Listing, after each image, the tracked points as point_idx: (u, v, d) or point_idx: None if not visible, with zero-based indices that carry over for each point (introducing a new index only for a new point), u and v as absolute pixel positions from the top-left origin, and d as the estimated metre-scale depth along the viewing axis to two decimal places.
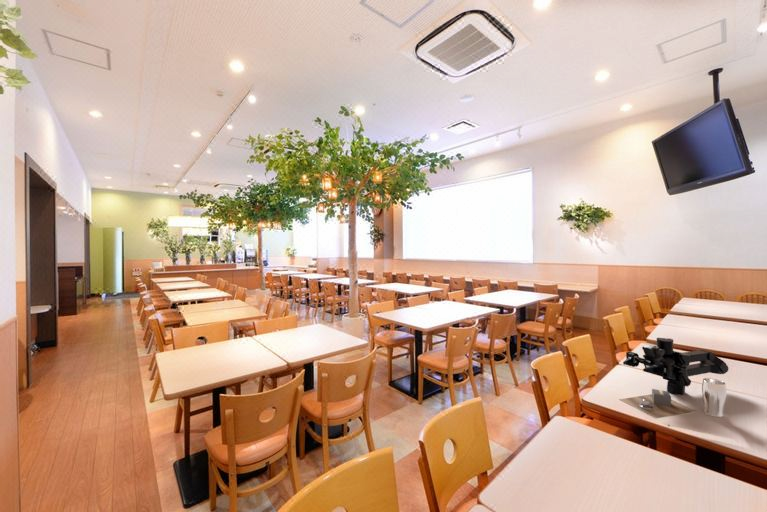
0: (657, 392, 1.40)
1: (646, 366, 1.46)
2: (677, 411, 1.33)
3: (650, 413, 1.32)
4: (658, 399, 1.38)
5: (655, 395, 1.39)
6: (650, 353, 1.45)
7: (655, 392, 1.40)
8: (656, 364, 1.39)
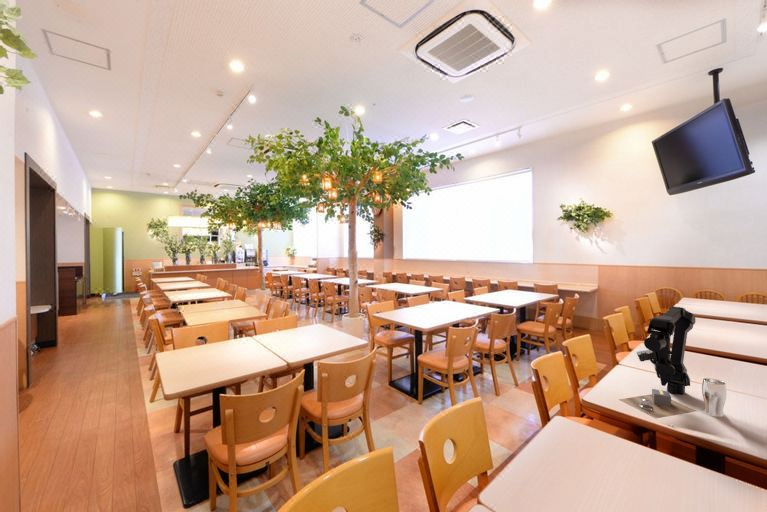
0: (657, 392, 1.40)
1: None
2: (677, 411, 1.33)
3: (650, 413, 1.32)
4: (658, 399, 1.38)
5: (655, 395, 1.39)
6: None
7: (655, 392, 1.40)
8: (657, 372, 1.36)
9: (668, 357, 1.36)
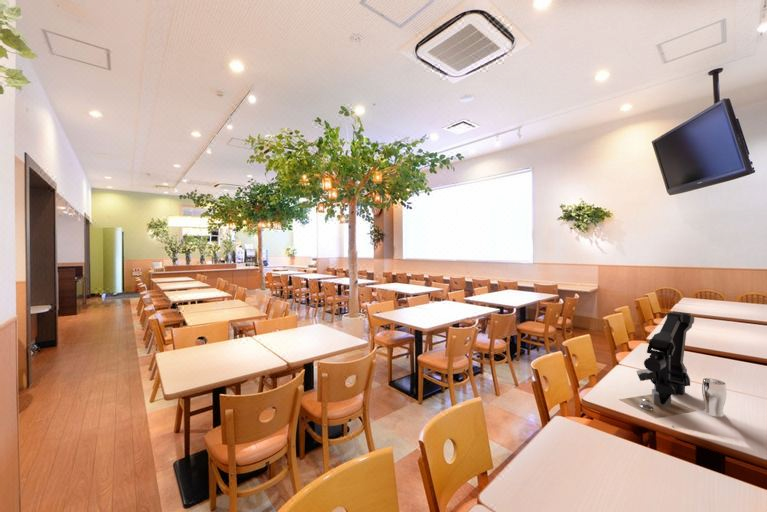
0: (657, 392, 1.40)
1: None
2: (677, 411, 1.33)
3: (650, 413, 1.32)
4: (658, 399, 1.38)
5: (655, 395, 1.39)
6: None
7: (655, 392, 1.40)
8: None
9: (668, 377, 1.37)
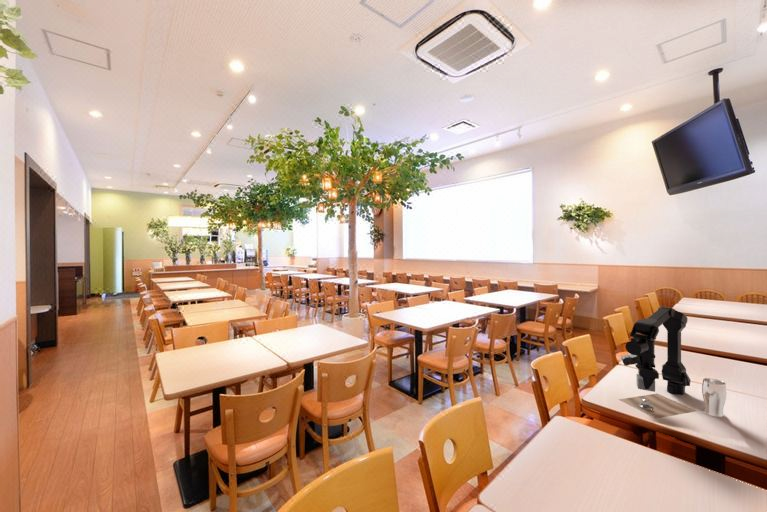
0: (641, 377, 1.37)
1: None
2: (677, 411, 1.33)
3: (650, 413, 1.32)
4: (642, 384, 1.35)
5: (639, 380, 1.35)
6: None
7: (639, 377, 1.37)
8: None
9: (652, 361, 1.33)
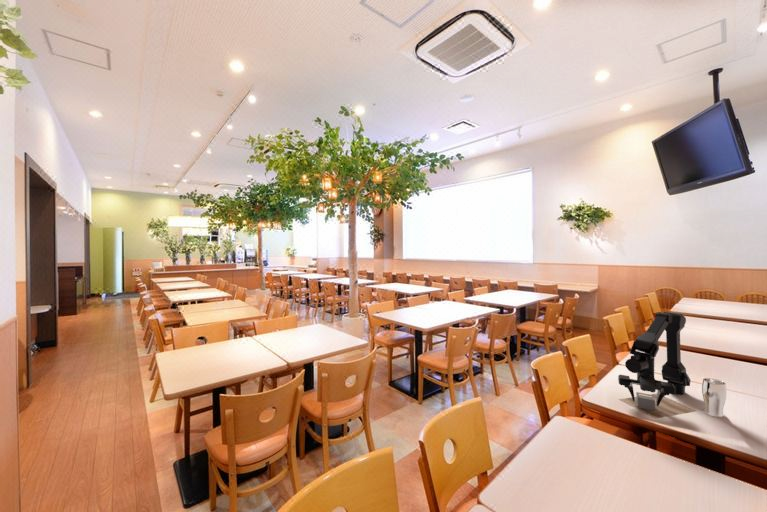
0: (647, 397, 1.35)
1: None
2: (677, 411, 1.33)
3: (650, 413, 1.32)
4: None
5: (654, 401, 1.33)
6: None
7: (649, 398, 1.34)
8: (661, 394, 1.32)
9: None
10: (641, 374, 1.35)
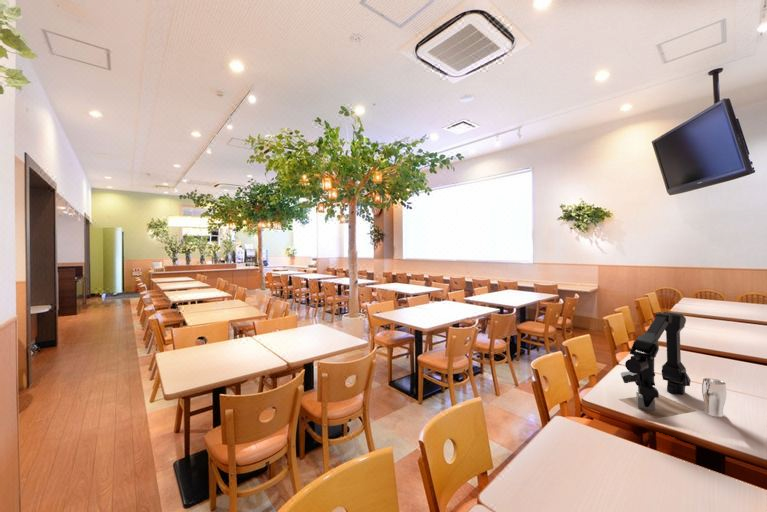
0: None
1: None
2: (677, 411, 1.33)
3: (650, 413, 1.32)
4: None
5: (654, 401, 1.33)
6: None
7: None
8: None
9: (652, 379, 1.34)
10: None
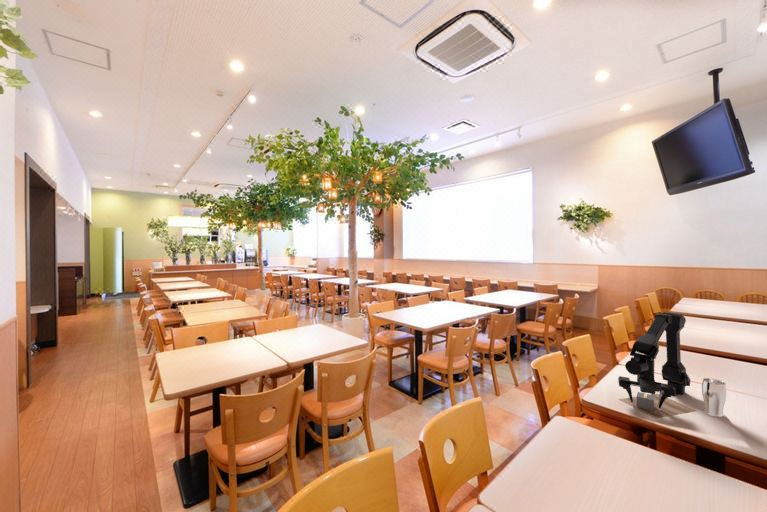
0: (649, 396, 1.36)
1: None
2: (677, 411, 1.33)
3: (650, 413, 1.32)
4: None
5: None
6: None
7: (651, 396, 1.36)
8: (663, 397, 1.32)
9: None
10: (641, 376, 1.35)
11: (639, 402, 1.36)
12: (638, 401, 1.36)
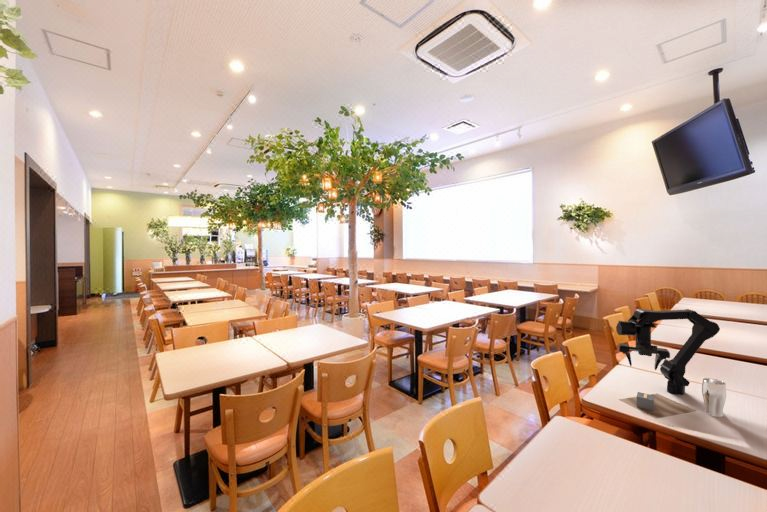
0: (649, 396, 1.36)
1: None
2: (677, 411, 1.33)
3: (650, 413, 1.32)
4: None
5: None
6: None
7: (651, 396, 1.36)
8: (659, 359, 1.47)
9: None
10: (639, 341, 1.50)
11: (639, 402, 1.36)
12: (638, 401, 1.36)
